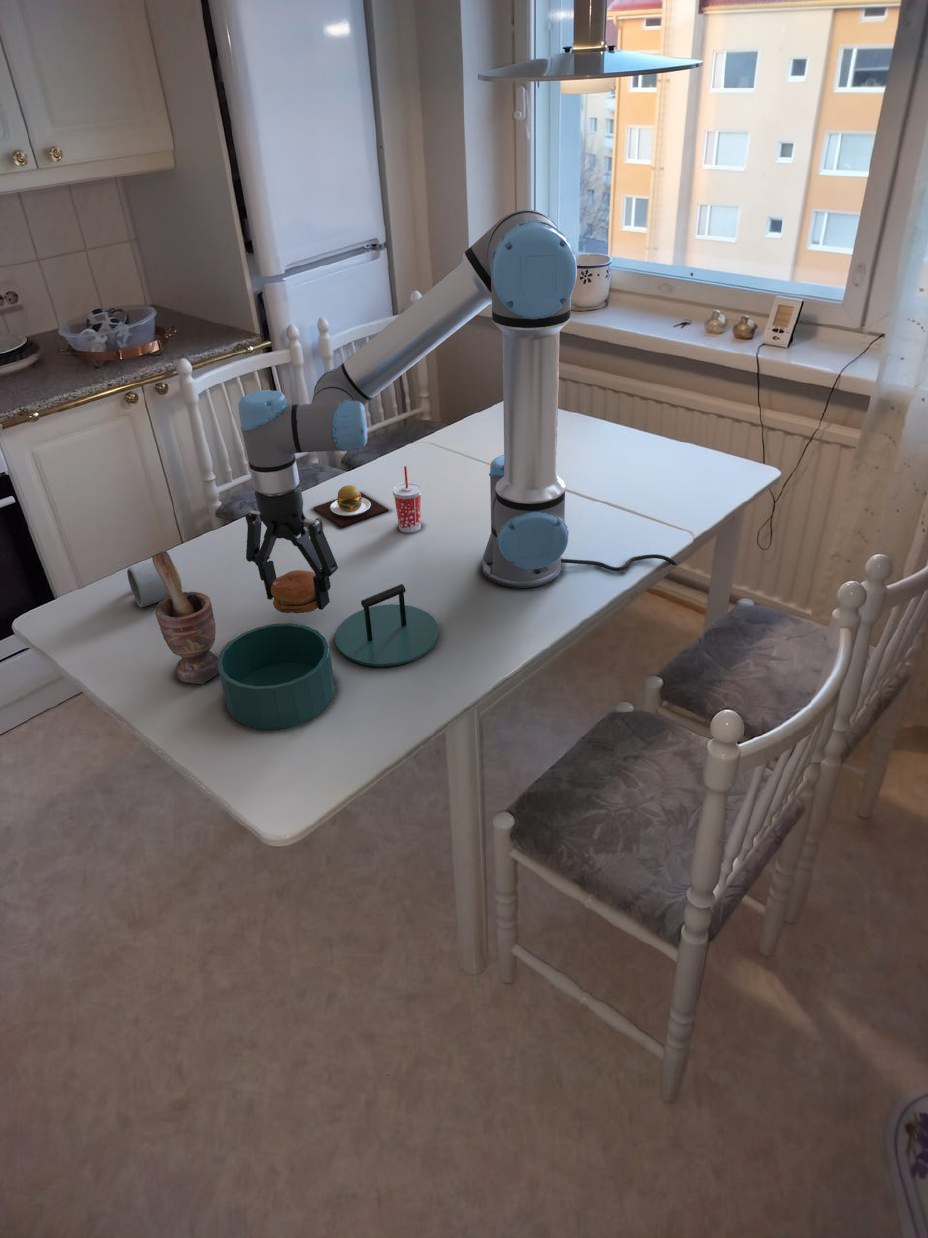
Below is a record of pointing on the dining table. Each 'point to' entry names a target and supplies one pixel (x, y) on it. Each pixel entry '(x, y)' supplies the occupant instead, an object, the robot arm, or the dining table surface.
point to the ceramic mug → (148, 584)
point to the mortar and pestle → (186, 625)
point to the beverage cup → (408, 505)
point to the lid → (387, 631)
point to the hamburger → (350, 507)
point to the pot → (276, 676)
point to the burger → (294, 592)
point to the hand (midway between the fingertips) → (298, 600)
